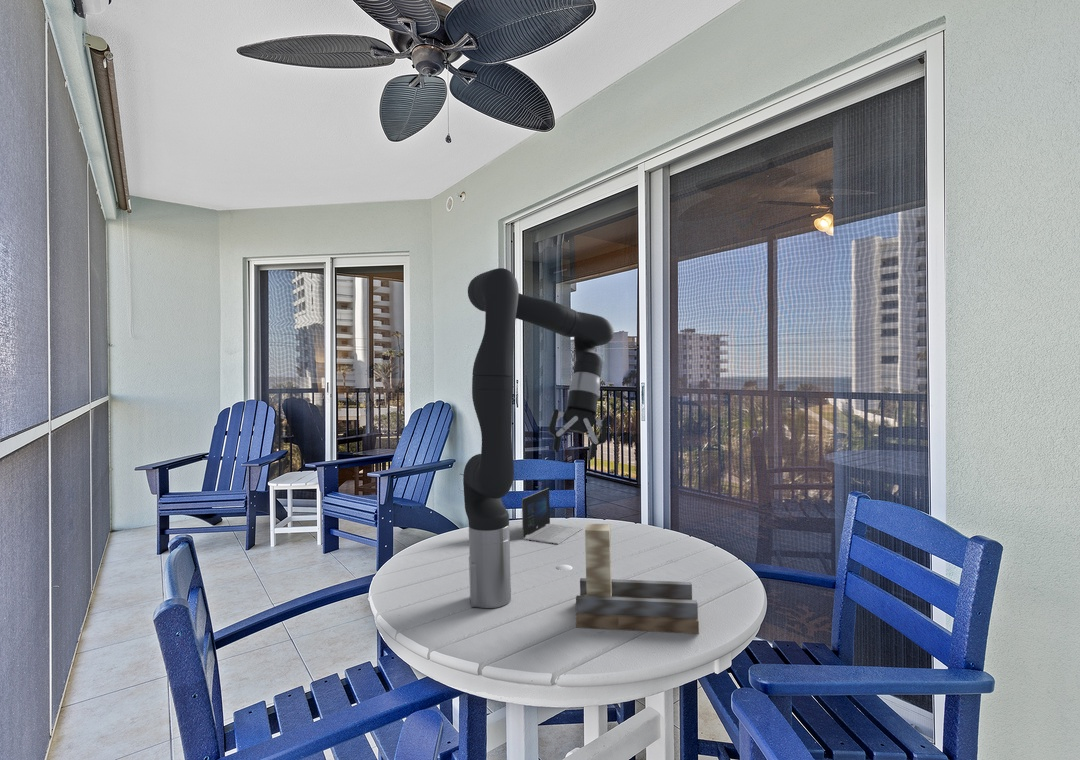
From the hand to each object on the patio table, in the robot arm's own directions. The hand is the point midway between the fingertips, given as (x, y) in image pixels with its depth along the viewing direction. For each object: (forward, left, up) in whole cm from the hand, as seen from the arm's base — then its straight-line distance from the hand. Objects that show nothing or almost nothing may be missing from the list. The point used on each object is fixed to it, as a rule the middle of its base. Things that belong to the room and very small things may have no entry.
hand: (573, 456), depth 133 cm
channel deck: (+7, -21, -31) cm, 38 cm away
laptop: (+3, +41, -32) cm, 52 cm away
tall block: (0, -18, -29) cm, 34 cm away
